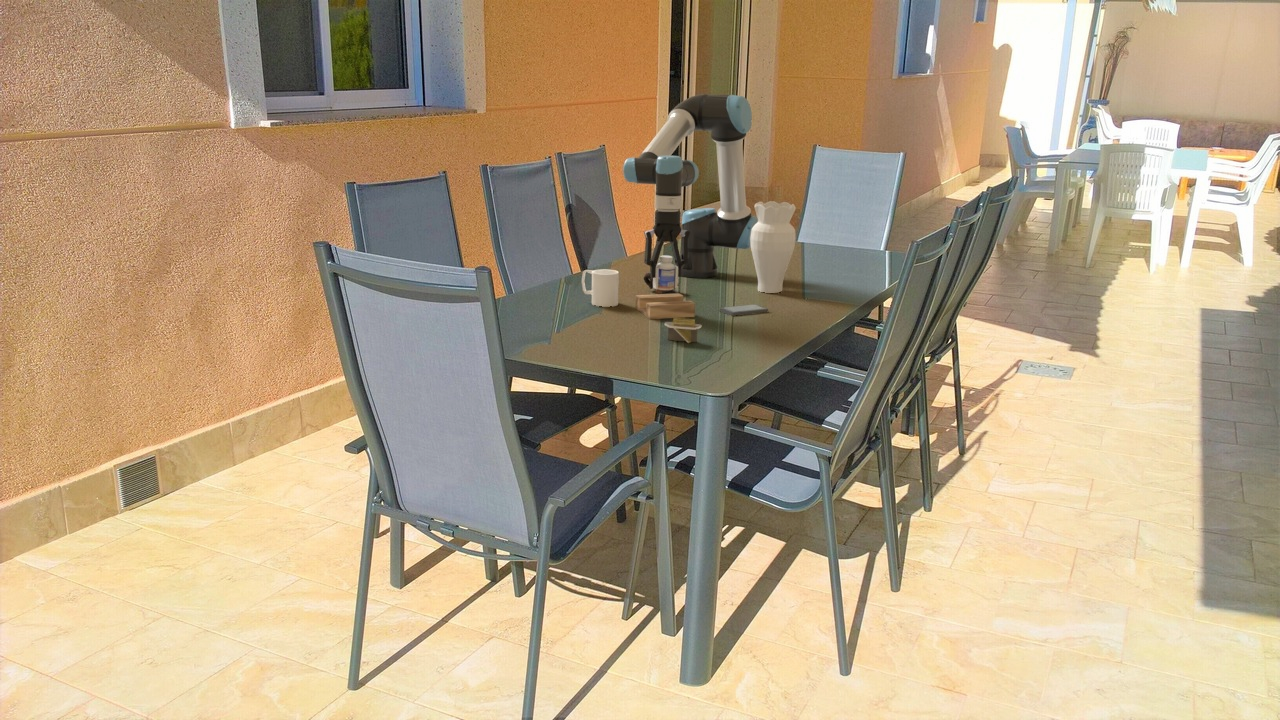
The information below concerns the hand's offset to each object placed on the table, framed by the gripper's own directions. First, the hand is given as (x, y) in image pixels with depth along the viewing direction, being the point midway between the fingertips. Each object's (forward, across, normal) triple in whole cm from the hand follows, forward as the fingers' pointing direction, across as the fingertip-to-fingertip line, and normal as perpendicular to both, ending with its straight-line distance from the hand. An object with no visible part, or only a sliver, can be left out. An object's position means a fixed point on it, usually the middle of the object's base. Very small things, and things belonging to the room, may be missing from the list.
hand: (665, 287), depth 301 cm
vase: (+7, +44, +21) cm, 50 cm away
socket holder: (+8, 0, 0) cm, 8 cm away
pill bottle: (+1, 0, 0) cm, 1 cm away
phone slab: (+7, +24, -4) cm, 26 cm away
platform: (+9, -6, -32) cm, 34 cm away
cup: (+8, -16, +16) cm, 24 cm away
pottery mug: (+8, +8, +27) cm, 30 cm away
